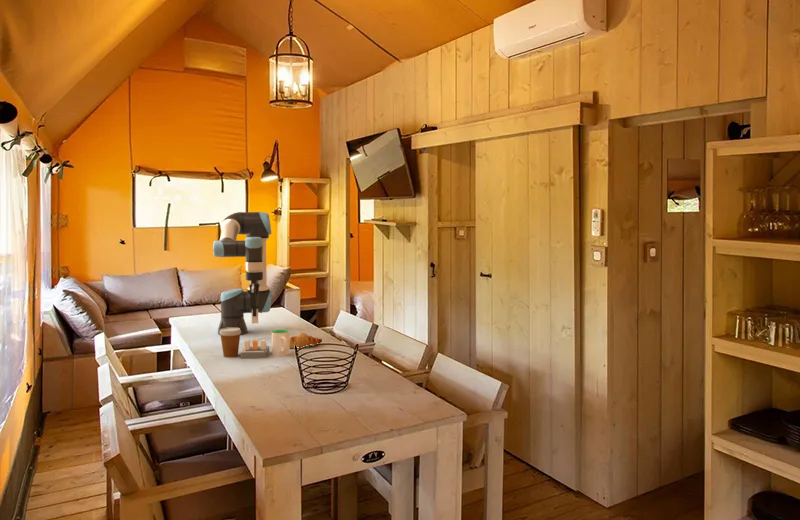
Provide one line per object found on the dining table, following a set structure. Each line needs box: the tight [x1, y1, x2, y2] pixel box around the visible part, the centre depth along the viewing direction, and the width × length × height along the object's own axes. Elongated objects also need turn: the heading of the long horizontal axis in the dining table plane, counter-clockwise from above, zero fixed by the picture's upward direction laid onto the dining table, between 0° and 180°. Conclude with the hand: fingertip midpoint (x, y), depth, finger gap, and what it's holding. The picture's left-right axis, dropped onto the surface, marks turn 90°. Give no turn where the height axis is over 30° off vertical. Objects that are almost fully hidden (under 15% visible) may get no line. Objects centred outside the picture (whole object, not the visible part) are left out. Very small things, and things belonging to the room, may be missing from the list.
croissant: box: [290, 332, 323, 349], centre depth 286 cm, size 21×10×8 cm
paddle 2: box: [252, 339, 259, 350], centre depth 269 cm, size 3×2×4 cm, turn 6°
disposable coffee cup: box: [219, 327, 242, 358], centre depth 267 cm, size 10×10×12 cm
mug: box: [271, 329, 291, 357], centre depth 270 cm, size 12×8×10 cm
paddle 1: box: [244, 339, 251, 350], centre depth 268 cm, size 3×2×4 cm, turn 6°
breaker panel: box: [240, 345, 270, 359], centre depth 269 cm, size 12×11×3 cm
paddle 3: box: [260, 339, 267, 350], centre depth 269 cm, size 3×2×4 cm, turn 6°
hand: (255, 323), depth 268 cm, fingers closed
